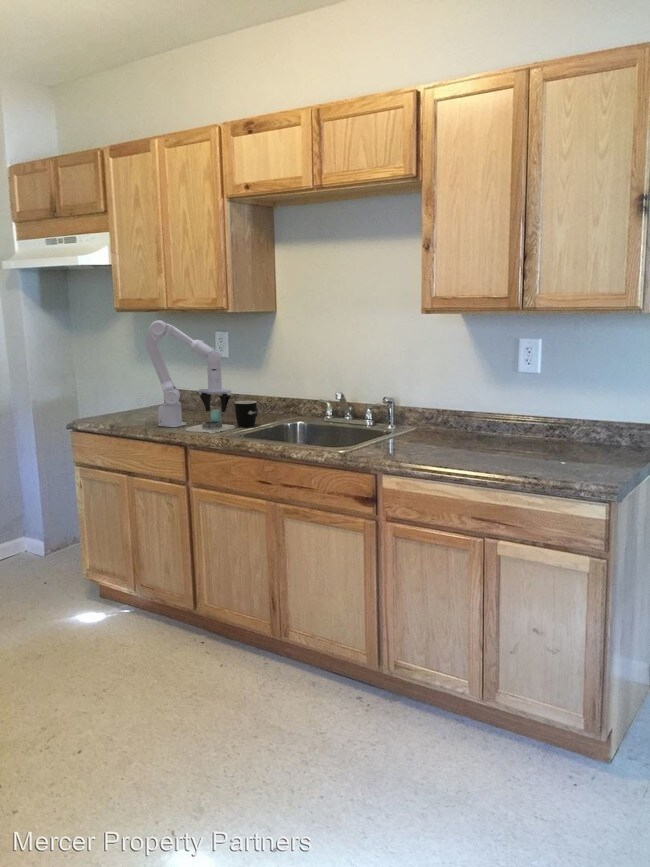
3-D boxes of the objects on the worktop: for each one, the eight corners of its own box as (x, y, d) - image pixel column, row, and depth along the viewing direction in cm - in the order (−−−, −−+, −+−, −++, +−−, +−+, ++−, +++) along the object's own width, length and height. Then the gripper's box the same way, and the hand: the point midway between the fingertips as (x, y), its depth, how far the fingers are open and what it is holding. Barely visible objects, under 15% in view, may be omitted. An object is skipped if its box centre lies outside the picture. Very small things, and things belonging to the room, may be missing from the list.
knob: (208, 424, 305) (208, 410, 304) (215, 423, 309) (214, 408, 308) (216, 425, 303) (216, 410, 302) (223, 424, 307) (223, 409, 306)
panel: (186, 430, 291) (185, 424, 291) (208, 425, 303) (208, 419, 303) (213, 433, 284) (213, 426, 284) (234, 428, 296) (234, 421, 296)
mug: (248, 428, 295) (247, 404, 293) (231, 426, 300) (230, 402, 298) (265, 424, 305) (265, 400, 303) (248, 422, 310) (247, 399, 308)
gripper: (194, 379, 302) (196, 412, 304) (224, 380, 296) (226, 413, 299) (203, 378, 308) (204, 409, 310) (233, 379, 303) (234, 411, 305)
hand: (215, 411), depth 305 cm, fingers open, 7 cm apart
